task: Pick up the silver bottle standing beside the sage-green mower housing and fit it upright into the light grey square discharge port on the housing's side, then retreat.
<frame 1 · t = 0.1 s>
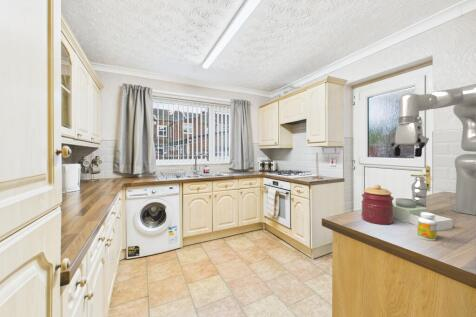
hand: (407, 156, 101), 31 cm above the worktop, tool pointing down, fingers open, 9 cm apart
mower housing: (405, 217, 105), on the worktop
supplement bottle: (426, 238, 82), on the worktop
canister: (376, 220, 102), on the worktop
silver bottle: (418, 214, 110), on the worktop
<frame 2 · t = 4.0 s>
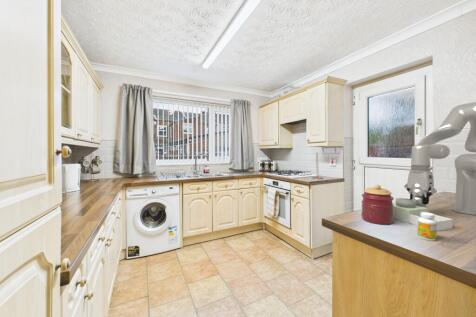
hand: (419, 202, 110), 6 cm above the worktop, tool pointing down, fingers closed on silver bottle, 5 cm apart
silver bottle: (418, 214, 110), on the worktop, touching gripper
everything else where it was.
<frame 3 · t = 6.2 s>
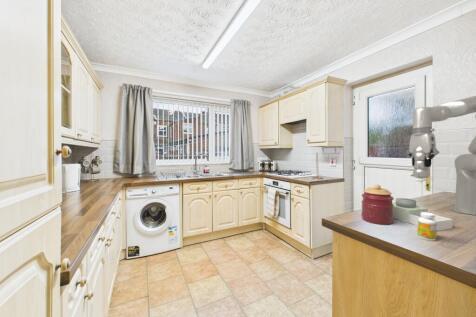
hand: (421, 166, 109), 26 cm above the worktop, tool pointing down, fingers closed on silver bottle, 5 cm apart
silver bottle: (421, 178, 109), point 19 cm above the worktop, touching gripper
everything else where it was.
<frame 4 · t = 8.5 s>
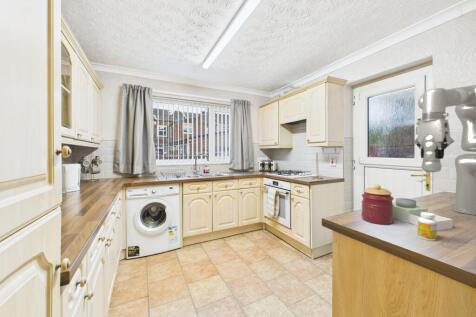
hand: (431, 157, 93), 31 cm above the worktop, tool pointing down, fingers closed on silver bottle, 5 cm apart
silver bottle: (431, 172, 94), point 24 cm above the worktop, touching gripper
everything else where it was.
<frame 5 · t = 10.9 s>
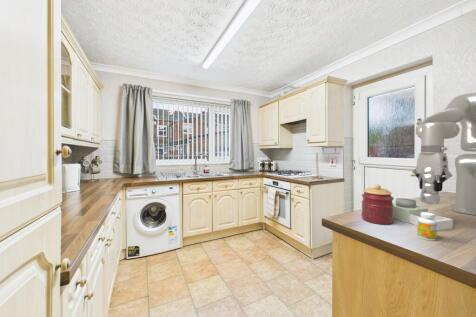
hand: (430, 189, 94), 16 cm above the worktop, tool pointing down, fingers closed on silver bottle, 5 cm apart
silver bottle: (429, 204, 94), point 10 cm above the worktop, touching gripper
everything else where it was.
when the fingers open (8 cm above the worktop, at t = 13.1 s): silver bottle moves 2 cm, resting on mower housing.
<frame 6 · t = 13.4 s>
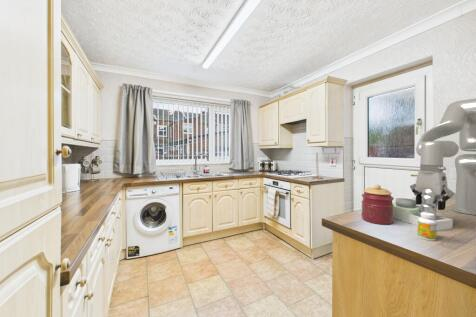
hand: (429, 206, 94), 9 cm above the worktop, tool pointing down, fingers open, 8 cm apart
silver bottle: (424, 223, 96), resting on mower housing
everything else where it was.
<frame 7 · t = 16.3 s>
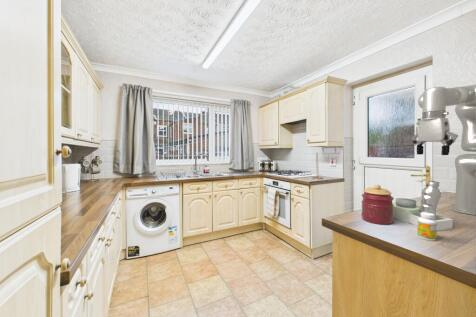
hand: (431, 154, 93), 32 cm above the worktop, tool pointing down, fingers open, 9 cm apart
nothing on the worktop moved.
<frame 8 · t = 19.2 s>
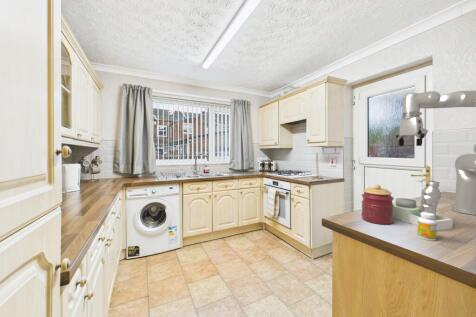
hand: (409, 145, 119), 36 cm above the worktop, tool pointing down, fingers open, 9 cm apart
nothing on the worktop moved.
at the end: silver bottle 1.5 cm from the target spot, resting in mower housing; silver bottle tilted 8°; the gripper is holding nothing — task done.
